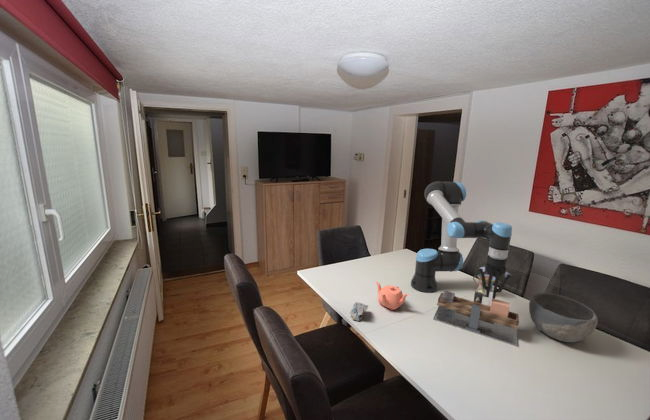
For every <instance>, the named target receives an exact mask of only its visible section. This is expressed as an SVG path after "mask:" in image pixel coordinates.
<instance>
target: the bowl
mask: <svg viewBox="0 0 650 420" xmlns="http://www.w3.org/2000/svg"><path fill="white" fill-rule="evenodd" d="M528 309H529V315H530V319H531V321H532V323H533V324H534V326H535V327H536V328H537V329H538V330H540V331H541V332H543V333H544V334H545V335H546V336H547V337H550V338H552V339H555V340H557V341H560V342H564V343H575V342H576V343H577V342H581V341H584V340H586V339H587V338H588V337H589V336H590V335H592V333H593V332H594V330H595V329H596V328H597V325H598V322H599V321H598V316H597V314H596V313H595V311H594V310H593V309H592V308H590V307H589V306H587V305H586V304H584V303H582V302H581V301H578V300H575V299H573V298H571V297H569V296H565V295H561V294H558V293H549V292H540V293H536V294H534V295H532V296H531V298H530V299H529V303H528Z"/></svg>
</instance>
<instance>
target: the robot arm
mask: <svg viewBox="0 0 650 420" xmlns="http://www.w3.org/2000/svg"><path fill="white" fill-rule="evenodd" d="M466 197H467V191H466V186H464V184H463V183H462V182H460V181H459V182H458V181H434V182H431V183H430V184H428V185H426V188H425V189H424V199H425V201H426V202H427V203H428V204H429V205H431V206H432V207H433V208H434V210H435V211H436V212H437V213H438V215H439V216H440V217H441V236H440V237H441V240H440V241H441V242H440V243H441V244H440V246H439V247H438V251H437V250H436V249H433V248H423V249H422V248H421V249H420V250H419V251H417V253H416V257H415V270H414V275H413V276H412V278H411V281H410V287H411V288H413V289H414V290H416V291H417V292H418V291H419V292H422V293H430V294H431V293H434V292H436V291H437V289H438V285H437V280H436V272H458V271H460V269H461V268H462V267H463V264H464V257H463V254H462V253H461V252H460V249H459V248H458V246H457V245H458V243H457V242H458V241H457V240H458V239H486V240H488V241H489V247H488V253H487V259H486V263H485V265H484V266H480V267H479V269H478V270H479V274H481V277H482V285H483V289H486V290H487V293H486V296H485V297H486V298H488V299H487V305H488V306H491V303H492V298H493V299H496V296H497V293H500V294H501V293H502V291H503V290H504V287H505V286H506V284H507V281H508V280H509V279H510V278H511V277H512V274H511V273H510V272H508V271H507V269H506V267H507V260H508V259H507V258H508V255H509V251H510V250H509V249H510V244H511V238H512V232H513V226H512V225H511V224H509V223H505V222H494V223H490V222H489V221H486V220H483V219H482V220H477V221H476V222H474V221H473V222H472V221H465V219H464V218H462V216H461V215H460V214H459V207H460V206H461V205H462V202H464V201H465V200H466ZM485 272H487V274H488V275H489V281H488V286H486V281H485V274H486V273H485ZM503 275H504V277H503V278H502V281H501V283H500V284H499V280H500V277H502V276H503ZM492 276H493V277H495V282H494V283H493V289H492V290H490V287H491V281H492ZM498 285H499V286H498Z"/></svg>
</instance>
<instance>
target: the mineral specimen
mask: <svg viewBox="0 0 650 420" xmlns="http://www.w3.org/2000/svg"><path fill="white" fill-rule="evenodd" d="M368 308H369V305H367V304H364V303H361V302H357V301H356V302H355V303H354V304H353V305H352V308H351V309H350V314H351V315H350V317H351V318H352V321H357V322H360V321H361V320H362V319H363V316H364V314H365V313H366V311H367V310H368Z"/></svg>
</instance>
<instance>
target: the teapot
mask: <svg viewBox="0 0 650 420" xmlns="http://www.w3.org/2000/svg"><path fill="white" fill-rule="evenodd" d="M375 283H376V285H377V294H378V296H377V297H378V298H377V301H378V303H379V304H380V305H381V307H385V308H388V309H389V310H390V311H394V310H397V309H398V308H401V306H402V305H403V304H404V303H405V301H406V298H407V296H409V295H410V294H409V293H404V294H403V291H402V289H401V288H400V287H398V286H394V285H391V284H387V285H385V286H383V287H382V286H381V283H379V282H378V281H375Z"/></svg>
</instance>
